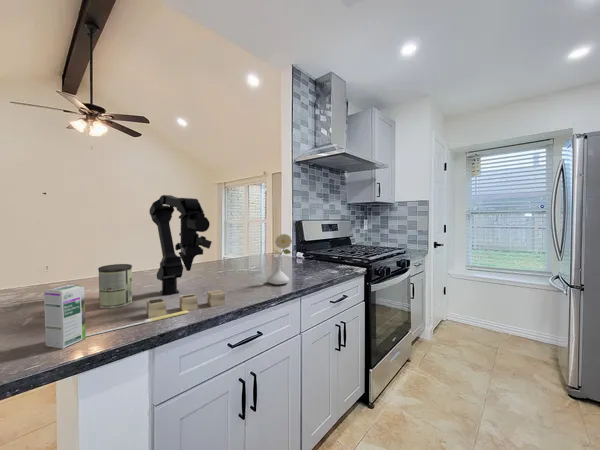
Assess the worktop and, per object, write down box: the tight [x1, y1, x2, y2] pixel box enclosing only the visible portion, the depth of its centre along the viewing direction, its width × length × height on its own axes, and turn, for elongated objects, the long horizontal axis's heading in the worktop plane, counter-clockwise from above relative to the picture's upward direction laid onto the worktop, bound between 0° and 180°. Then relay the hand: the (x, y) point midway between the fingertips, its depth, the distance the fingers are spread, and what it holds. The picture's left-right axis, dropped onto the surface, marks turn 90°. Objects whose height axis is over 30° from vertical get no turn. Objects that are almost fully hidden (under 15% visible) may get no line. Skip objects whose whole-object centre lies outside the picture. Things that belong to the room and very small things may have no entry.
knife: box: [86, 310, 190, 337], centre depth 81 cm, size 1×33×4 cm
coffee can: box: [97, 263, 133, 309], centre depth 99 cm, size 10×10×14 cm
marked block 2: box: [179, 293, 198, 312], centre depth 95 cm, size 5×5×5 cm
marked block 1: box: [146, 298, 167, 319], centre depth 89 cm, size 5×5×5 cm
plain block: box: [206, 289, 226, 308], centre depth 101 cm, size 5×5×4 cm
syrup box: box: [43, 284, 87, 350], centre depth 68 cm, size 6×6×14 cm
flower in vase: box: [266, 233, 293, 285], centre depth 132 cm, size 13×11×25 cm
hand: (188, 270), depth 103 cm, fingers closed
